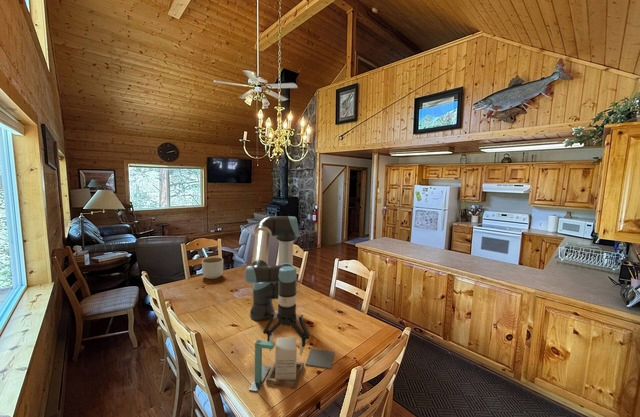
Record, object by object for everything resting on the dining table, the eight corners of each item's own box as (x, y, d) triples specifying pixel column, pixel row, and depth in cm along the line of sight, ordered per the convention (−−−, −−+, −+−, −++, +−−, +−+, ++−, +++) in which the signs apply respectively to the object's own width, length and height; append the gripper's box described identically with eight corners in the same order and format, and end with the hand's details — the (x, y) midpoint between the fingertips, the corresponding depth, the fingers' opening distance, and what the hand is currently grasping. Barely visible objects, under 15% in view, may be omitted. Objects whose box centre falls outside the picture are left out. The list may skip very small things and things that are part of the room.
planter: (197, 279, 221) (197, 262, 220) (209, 273, 238) (209, 256, 237) (216, 281, 219) (216, 263, 217) (227, 274, 235) (227, 257, 234)
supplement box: (276, 368, 120) (276, 337, 119) (296, 367, 121) (296, 336, 119) (274, 383, 111) (275, 349, 110) (295, 382, 112) (296, 349, 110)
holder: (266, 383, 111) (266, 379, 110) (276, 363, 123) (276, 359, 123) (296, 388, 108) (296, 384, 108) (303, 367, 121) (303, 363, 121)
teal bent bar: (254, 382, 110) (255, 343, 108) (257, 378, 113) (257, 339, 111) (271, 385, 109) (272, 345, 107) (274, 381, 111) (274, 342, 110)
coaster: (305, 365, 123) (305, 364, 123) (310, 349, 134) (310, 348, 134) (331, 369, 121) (331, 367, 120) (334, 352, 132) (334, 351, 132)
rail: (248, 390, 107) (248, 389, 107) (262, 366, 121) (262, 365, 121) (257, 392, 106) (257, 391, 106) (270, 367, 120) (270, 366, 120)
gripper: (255, 304, 111) (255, 352, 113) (314, 310, 107) (312, 360, 109) (262, 297, 118) (262, 342, 120) (317, 302, 114) (316, 349, 116)
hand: (286, 351), depth 114 cm, fingers open, 13 cm apart
